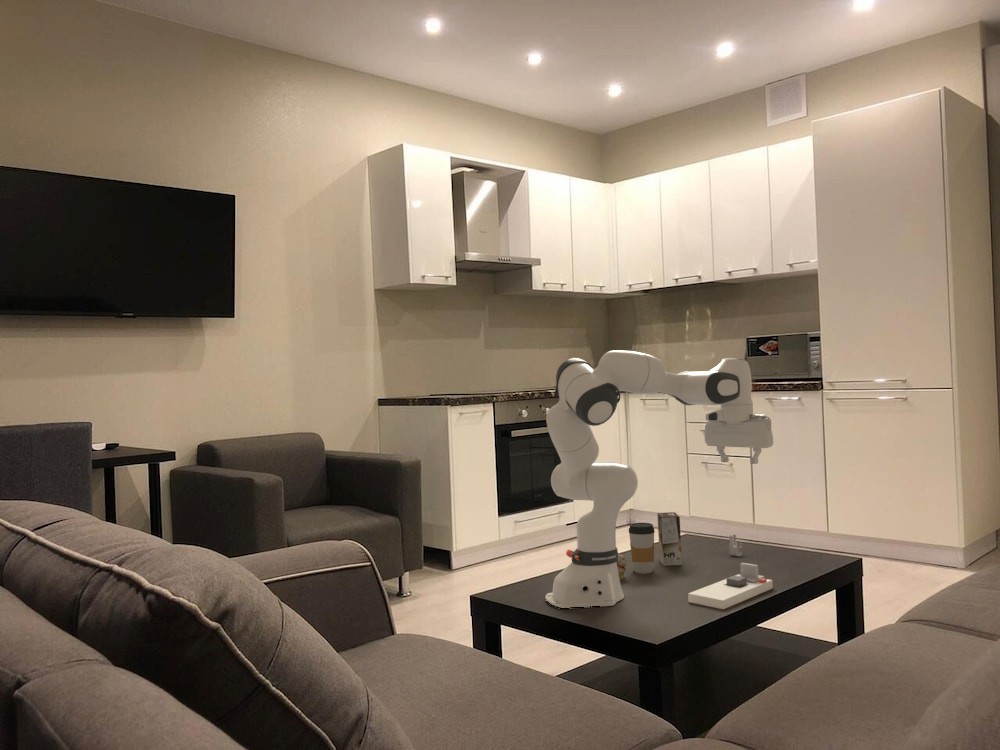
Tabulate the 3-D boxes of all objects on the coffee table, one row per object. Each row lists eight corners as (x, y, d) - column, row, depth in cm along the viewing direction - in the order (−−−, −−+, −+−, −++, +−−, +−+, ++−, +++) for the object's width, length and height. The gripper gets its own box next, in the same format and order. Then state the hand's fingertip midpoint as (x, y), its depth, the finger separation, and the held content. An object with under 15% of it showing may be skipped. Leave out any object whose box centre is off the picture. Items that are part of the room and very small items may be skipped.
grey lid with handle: (753, 582, 232) (752, 567, 232) (734, 579, 236) (734, 564, 236) (764, 578, 236) (763, 563, 236) (745, 574, 240) (745, 560, 240)
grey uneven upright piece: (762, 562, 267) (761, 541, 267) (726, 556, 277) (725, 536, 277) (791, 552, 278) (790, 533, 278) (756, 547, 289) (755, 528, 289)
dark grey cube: (739, 594, 229) (738, 580, 229) (727, 592, 232) (726, 578, 232) (747, 591, 231) (746, 577, 231) (734, 589, 234) (733, 575, 234)
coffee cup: (656, 574, 256) (654, 527, 256) (629, 574, 257) (627, 527, 257) (656, 568, 264) (654, 522, 264) (630, 568, 266) (628, 522, 265)
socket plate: (723, 609, 217) (722, 597, 217) (688, 602, 225) (688, 590, 225) (772, 588, 234) (772, 577, 234) (738, 582, 242) (738, 571, 242)
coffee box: (682, 565, 266) (680, 516, 266) (663, 566, 266) (660, 517, 266) (677, 558, 275) (675, 511, 275) (658, 559, 275) (656, 512, 275)
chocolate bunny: (623, 581, 250) (622, 549, 250) (599, 580, 253) (597, 548, 253) (628, 576, 255) (626, 545, 255) (603, 575, 258) (602, 544, 258)
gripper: (776, 413, 226) (778, 463, 226) (712, 413, 241) (714, 459, 241) (764, 415, 222) (767, 465, 222) (700, 415, 237) (702, 462, 237)
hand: (739, 462), depth 232 cm, fingers open, 8 cm apart
